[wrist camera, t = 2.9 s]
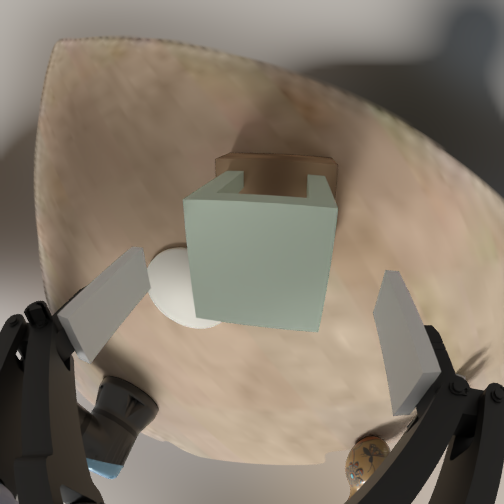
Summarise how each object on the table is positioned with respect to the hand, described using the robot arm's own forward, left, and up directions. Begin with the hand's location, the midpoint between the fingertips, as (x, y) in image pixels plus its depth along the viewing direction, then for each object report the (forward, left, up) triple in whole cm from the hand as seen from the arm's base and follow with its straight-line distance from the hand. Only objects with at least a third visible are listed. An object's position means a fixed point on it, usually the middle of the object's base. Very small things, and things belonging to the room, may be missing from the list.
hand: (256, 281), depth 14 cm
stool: (0, 0, -10) cm, 10 cm away
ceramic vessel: (+24, -51, -16) cm, 58 cm away
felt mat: (-11, -12, -15) cm, 22 cm away
